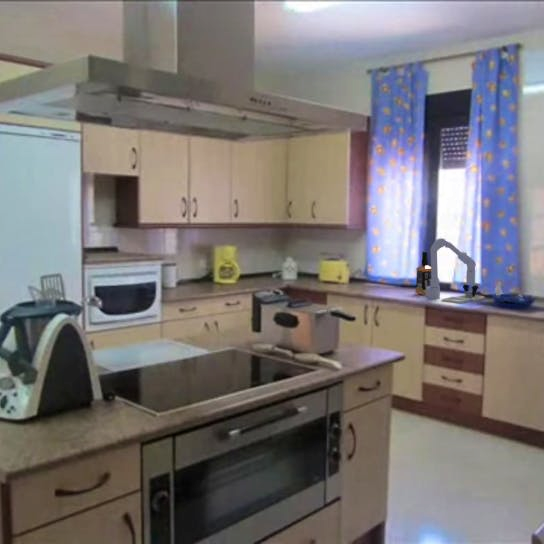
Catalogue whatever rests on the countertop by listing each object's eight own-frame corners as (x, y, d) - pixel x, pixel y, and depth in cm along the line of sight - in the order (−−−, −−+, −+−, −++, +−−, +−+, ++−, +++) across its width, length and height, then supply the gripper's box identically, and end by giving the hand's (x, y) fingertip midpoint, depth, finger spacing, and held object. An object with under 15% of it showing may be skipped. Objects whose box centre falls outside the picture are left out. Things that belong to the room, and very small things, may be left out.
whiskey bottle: (433, 294, 448) (434, 251, 445) (422, 295, 445) (423, 252, 441) (425, 292, 458) (426, 250, 454) (414, 293, 454) (415, 251, 451)
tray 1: (441, 302, 413) (441, 299, 413) (451, 300, 423) (451, 296, 423) (460, 304, 403) (460, 301, 403) (470, 302, 413) (470, 298, 413)
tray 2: (456, 300, 421) (456, 296, 421) (465, 298, 431) (465, 294, 430) (474, 302, 411) (474, 299, 411) (484, 300, 421) (484, 296, 421)
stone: (465, 297, 420) (465, 291, 420) (468, 296, 424) (468, 290, 423) (471, 298, 417) (471, 291, 417) (474, 297, 420) (474, 291, 420)
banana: (521, 304, 402) (522, 282, 400) (493, 301, 414) (494, 280, 412) (524, 303, 405) (525, 281, 404) (496, 300, 417) (496, 279, 416)
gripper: (458, 276, 421) (457, 295, 423) (477, 278, 411) (477, 297, 413) (463, 275, 426) (462, 294, 428) (482, 277, 416) (482, 296, 418)
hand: (470, 296), depth 421 cm, fingers closed on stone, 4 cm apart
